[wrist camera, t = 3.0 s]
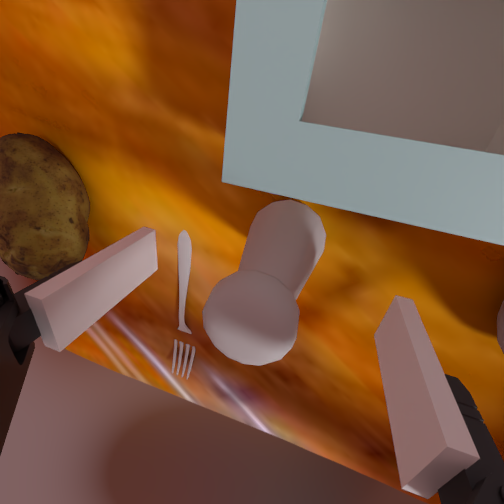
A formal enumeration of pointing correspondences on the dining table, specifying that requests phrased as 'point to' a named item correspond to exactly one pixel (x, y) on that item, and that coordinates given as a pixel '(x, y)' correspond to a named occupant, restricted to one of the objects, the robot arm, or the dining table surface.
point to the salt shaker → (266, 285)
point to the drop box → (373, 108)
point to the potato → (40, 208)
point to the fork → (183, 298)
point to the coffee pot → (500, 327)
